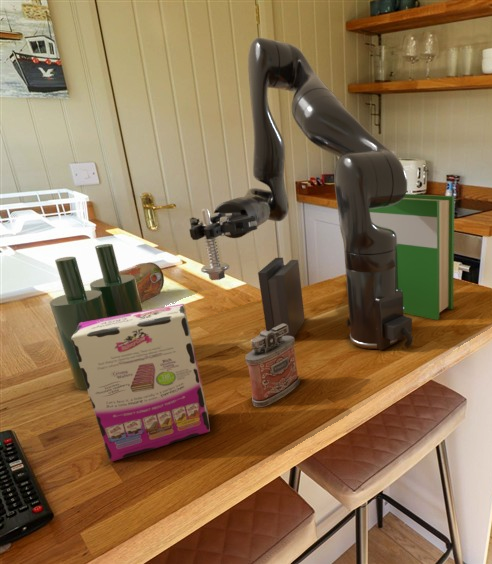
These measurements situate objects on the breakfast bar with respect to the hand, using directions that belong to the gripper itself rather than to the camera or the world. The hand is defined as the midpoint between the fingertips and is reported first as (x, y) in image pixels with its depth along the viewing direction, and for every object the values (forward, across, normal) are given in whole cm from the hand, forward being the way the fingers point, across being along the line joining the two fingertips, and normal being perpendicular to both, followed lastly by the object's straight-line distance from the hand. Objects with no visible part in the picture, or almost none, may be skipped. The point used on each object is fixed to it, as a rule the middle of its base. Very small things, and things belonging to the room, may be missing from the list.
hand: (200, 233), depth 73 cm
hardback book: (-16, +35, +21) cm, 44 cm away
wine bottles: (+9, -14, +20) cm, 26 cm away
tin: (-23, -30, +21) cm, 43 cm away
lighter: (+17, +16, +21) cm, 31 cm away
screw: (-3, 0, +9) cm, 10 cm away
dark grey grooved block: (-5, +11, +21) cm, 24 cm away
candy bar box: (+27, +4, +21) cm, 34 cm away
